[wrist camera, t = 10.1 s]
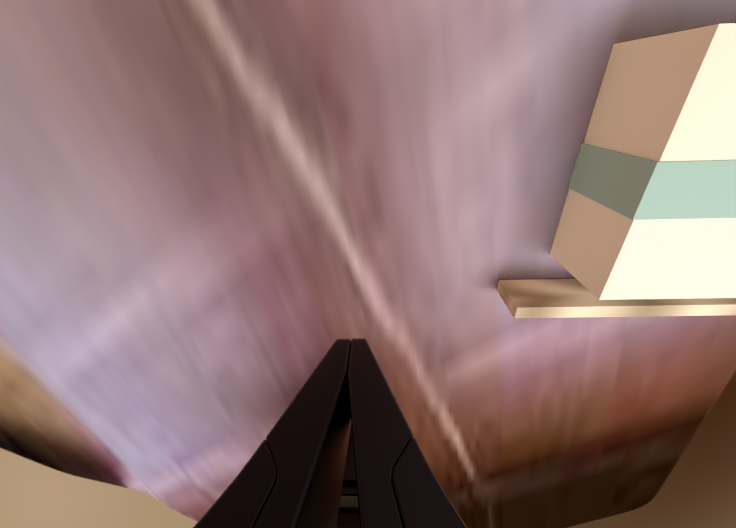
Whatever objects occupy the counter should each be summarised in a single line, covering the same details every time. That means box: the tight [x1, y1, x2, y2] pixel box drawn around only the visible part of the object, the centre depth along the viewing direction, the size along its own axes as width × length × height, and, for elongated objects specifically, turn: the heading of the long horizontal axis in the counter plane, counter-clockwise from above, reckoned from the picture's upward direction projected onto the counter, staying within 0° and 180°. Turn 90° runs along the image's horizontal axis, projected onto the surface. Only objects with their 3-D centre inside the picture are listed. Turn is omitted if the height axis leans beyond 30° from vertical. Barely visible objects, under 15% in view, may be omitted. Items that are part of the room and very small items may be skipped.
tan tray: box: [497, 279, 736, 318], centre depth 15 cm, size 15×17×3 cm
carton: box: [550, 23, 736, 300], centre depth 15 cm, size 11×11×5 cm
